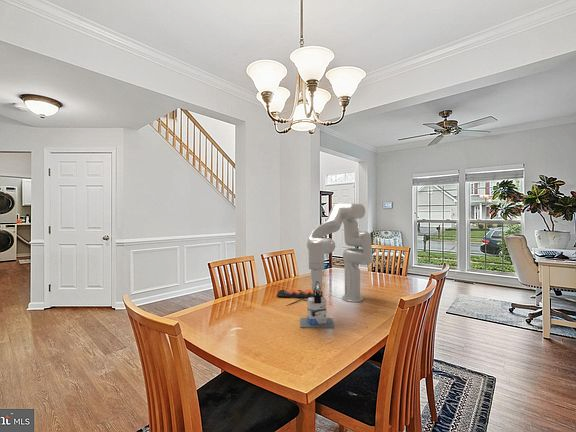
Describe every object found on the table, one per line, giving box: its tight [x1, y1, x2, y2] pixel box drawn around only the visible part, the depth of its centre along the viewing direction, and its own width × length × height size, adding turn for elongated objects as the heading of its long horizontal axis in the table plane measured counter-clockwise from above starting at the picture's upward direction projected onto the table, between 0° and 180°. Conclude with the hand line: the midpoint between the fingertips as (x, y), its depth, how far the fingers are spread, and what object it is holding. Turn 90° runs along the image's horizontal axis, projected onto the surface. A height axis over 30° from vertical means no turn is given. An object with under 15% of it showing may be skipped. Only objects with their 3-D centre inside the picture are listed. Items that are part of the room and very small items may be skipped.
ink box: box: [307, 296, 327, 324], centre depth 150 cm, size 8×5×12 cm, turn 101°
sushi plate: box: [276, 288, 323, 307], centre depth 191 cm, size 29×30×4 cm
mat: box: [299, 317, 335, 329], centre depth 150 cm, size 12×16×1 cm
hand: (317, 300), depth 150 cm, fingers open, 9 cm apart
